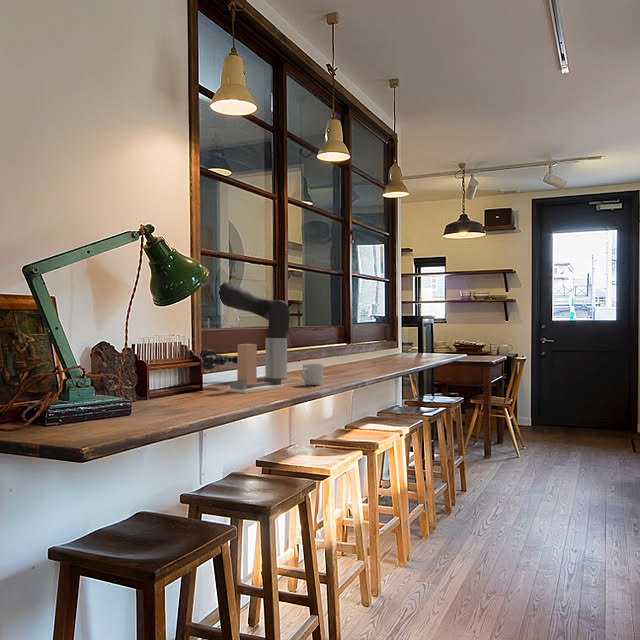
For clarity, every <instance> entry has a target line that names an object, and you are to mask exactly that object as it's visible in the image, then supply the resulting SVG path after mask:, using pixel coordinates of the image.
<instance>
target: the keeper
mask: <svg viewBox="0 0 640 640" xmlns="http://www.w3.org/2000/svg"><path fill="white" fill-rule="evenodd" d="M257 347H258V345H257V344H255V343H242V344H241V343H239V344H237V357H238V362H237V363H236V364H237V365H236V367H237V370H236V371H237V377H236V378H237V380H236V381H242V382H247V385H252V384H257V383H258V381H257V379H258V378H257V377H258V376H257V374H258V373H257V372H258V370H257V367H258V366H257V364H258V363H257V362H258V361H257V358H258V355H257V352H258V351H257V350H258V348H257Z"/></svg>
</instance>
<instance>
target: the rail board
mask: <svg viewBox="0 0 640 640" xmlns="http://www.w3.org/2000/svg"><path fill="white" fill-rule="evenodd" d="M278 388H279V389H284V388H286V385H285V384H282V379H281V378H275V377H265V376H264V381H263V382H257V384H252V385H247V382H242V381H237V380H231V381H230V387H227V388H226V392H232V393H240V394H241V393H242V394H248V393H257V392H263V391H270V390H272V391H273V390H278Z"/></svg>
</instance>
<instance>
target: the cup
mask: <svg viewBox="0 0 640 640" xmlns="http://www.w3.org/2000/svg"><path fill="white" fill-rule="evenodd" d="M323 371H324V364H323V363H303V364H302V370H301V377H302V380H303V383H304V385H306V386H311V385H316V386H320V385H321V384H322V382H323Z"/></svg>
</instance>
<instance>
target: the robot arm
mask: <svg viewBox="0 0 640 640" xmlns="http://www.w3.org/2000/svg"><path fill="white" fill-rule="evenodd" d="M223 282H224V283H223V284H222V285H221V286H220V291H219V295H220V299H221V301H222V303H223V304H224V305H223V306H225V305H226V307H228V308H232V309H235V310H239V311H243V312H248V313H252V314H255V315H257V316H258V317H261V318H262V319H265V320H267V321H268V325H267V326H268V327H267V329H266V331H265V360H264V361H265V371H264V372H265V374H264V375H265V376H264V378H265V377H275V378H281V380H284V379H287V378H288V334H289V330H290V314H291V313H290V307H289V304H288V303H287V302H285V301H284V300H280V299H275V300H272V299H267V298H264V297H260V296H257V295H255V294H253V293H251V292H249V291H248V290H247V289H244V288H243V287H241V286H238V285H235V284H232V283H229V282H225V281H223ZM200 349H201V348H200ZM200 356H201V358H202V361H203V363H202V365H203V369H202V370H204V371H205V370H207V371H209V370H211V371H212V370H213V369H214V368H215V367H216V366H223V365H224V366H225V365H227V366H228V365H229V364H233V365H234V364H237V362H238V355H235V356H234V355H233V356H232V355H228V354H223V355H222V354H217V353H216V351H215V350H212V349H207V348H206V349H204V348H202V349H201V353H200Z"/></svg>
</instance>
